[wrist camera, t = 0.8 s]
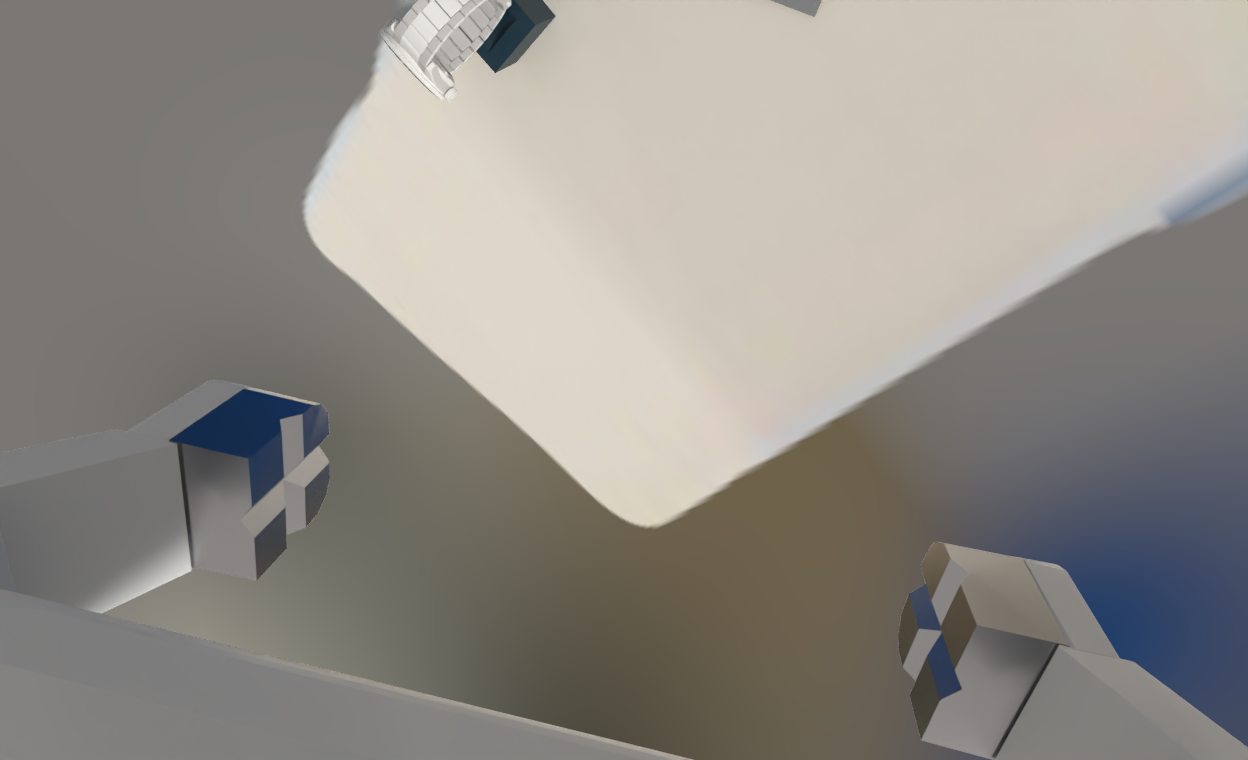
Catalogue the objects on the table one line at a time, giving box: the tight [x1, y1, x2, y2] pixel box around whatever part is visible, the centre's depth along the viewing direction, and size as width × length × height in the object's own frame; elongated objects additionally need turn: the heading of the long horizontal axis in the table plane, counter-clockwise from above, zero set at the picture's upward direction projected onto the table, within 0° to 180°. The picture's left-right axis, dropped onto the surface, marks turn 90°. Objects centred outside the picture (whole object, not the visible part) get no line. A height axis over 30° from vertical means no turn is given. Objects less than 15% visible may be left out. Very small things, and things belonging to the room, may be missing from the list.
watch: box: [379, 0, 555, 101], centre depth 45 cm, size 6×8×11 cm
